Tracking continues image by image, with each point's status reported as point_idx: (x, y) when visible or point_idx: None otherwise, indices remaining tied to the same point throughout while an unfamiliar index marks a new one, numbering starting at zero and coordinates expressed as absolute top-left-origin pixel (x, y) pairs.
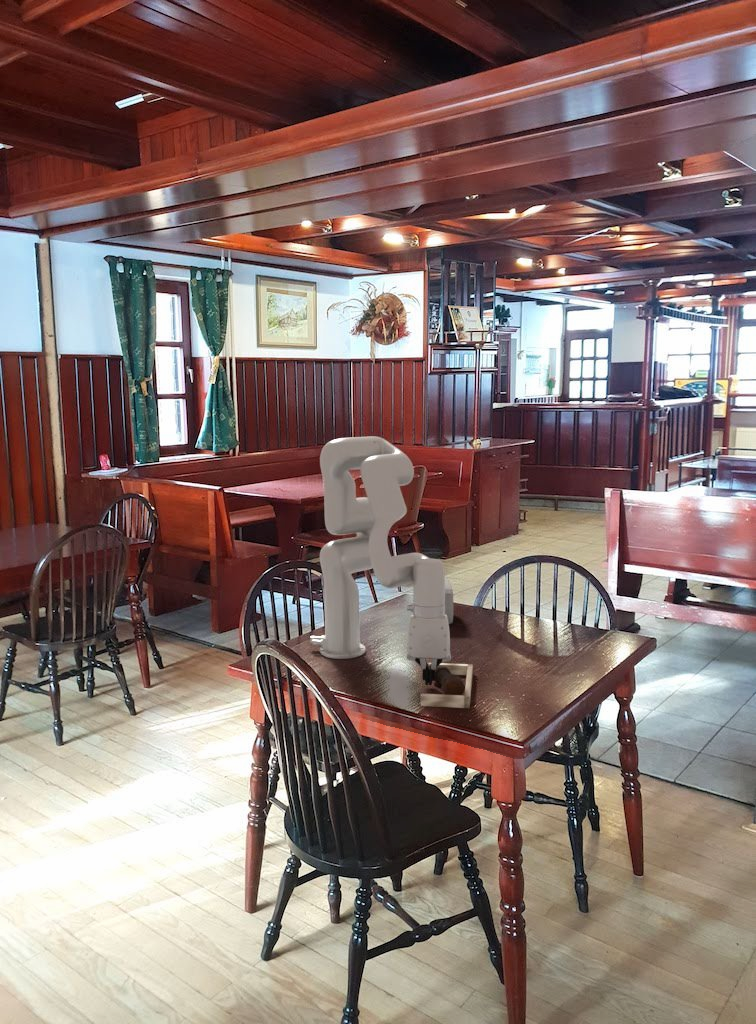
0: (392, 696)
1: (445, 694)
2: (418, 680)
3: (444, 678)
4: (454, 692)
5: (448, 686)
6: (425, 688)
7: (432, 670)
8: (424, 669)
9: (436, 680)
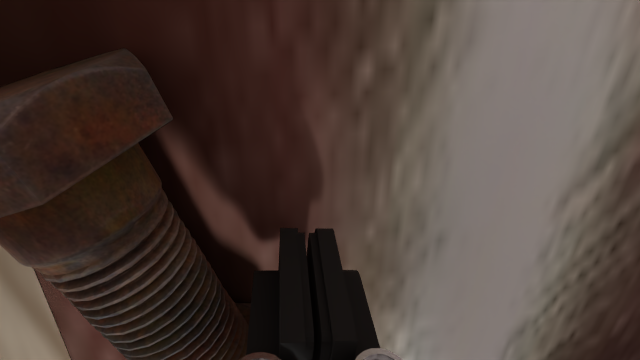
0: (583, 76)
1: (124, 49)
2: None
3: (144, 267)
4: (25, 80)
5: (45, 80)
6: None
7: (271, 351)
8: (360, 354)
9: None
